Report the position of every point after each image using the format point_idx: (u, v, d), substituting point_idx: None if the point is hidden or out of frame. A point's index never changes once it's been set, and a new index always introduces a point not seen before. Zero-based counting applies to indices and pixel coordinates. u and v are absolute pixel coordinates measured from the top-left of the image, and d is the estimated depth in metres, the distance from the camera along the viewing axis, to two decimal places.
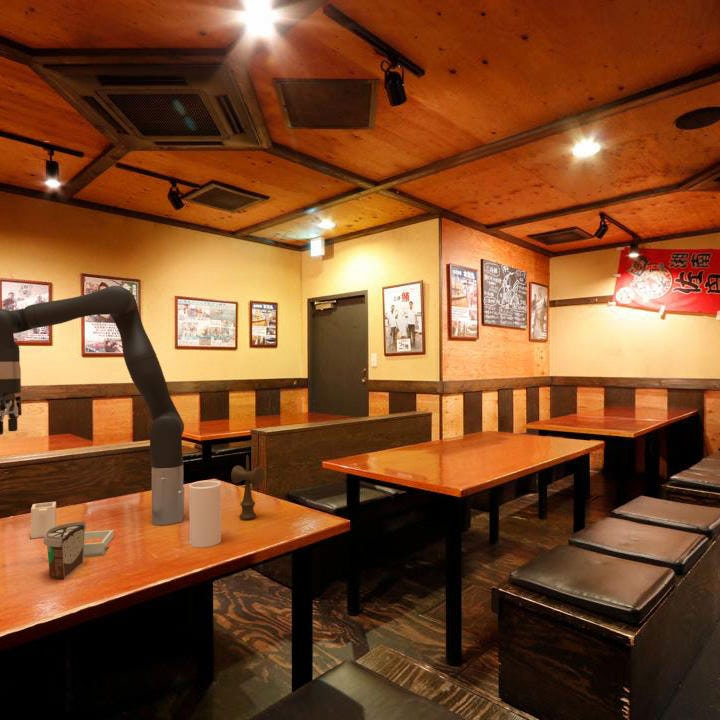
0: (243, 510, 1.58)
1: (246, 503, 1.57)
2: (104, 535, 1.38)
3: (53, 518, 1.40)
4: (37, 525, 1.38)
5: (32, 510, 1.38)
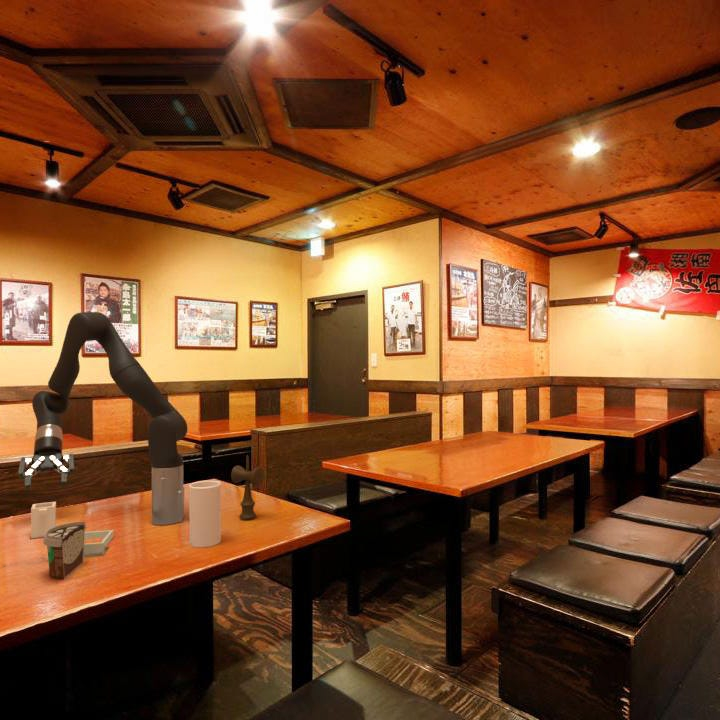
0: (243, 510, 1.58)
1: (246, 503, 1.57)
2: (104, 535, 1.38)
3: (53, 518, 1.40)
4: (37, 525, 1.38)
5: (32, 510, 1.38)
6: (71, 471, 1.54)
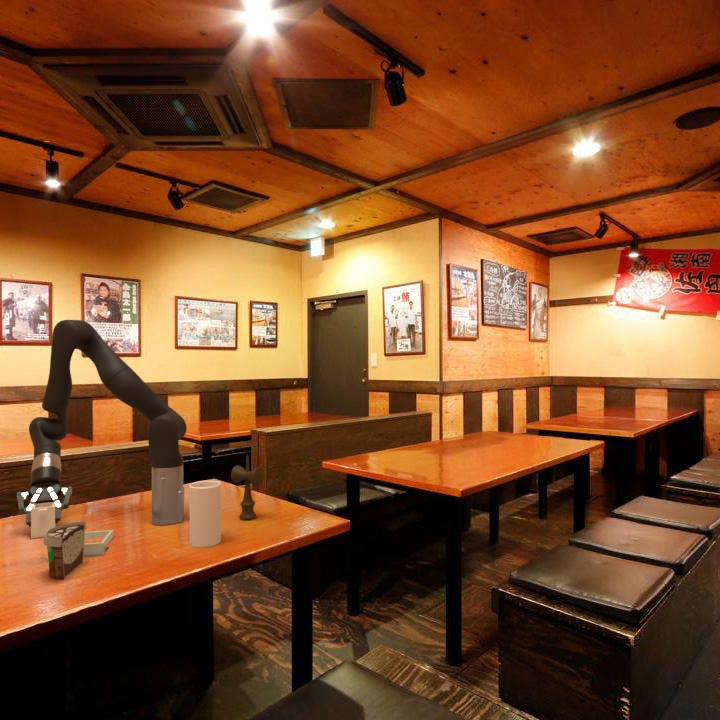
0: (243, 510, 1.58)
1: (246, 503, 1.57)
2: (104, 535, 1.38)
3: (53, 518, 1.40)
4: (37, 525, 1.38)
5: (32, 510, 1.37)
6: (65, 506, 1.45)
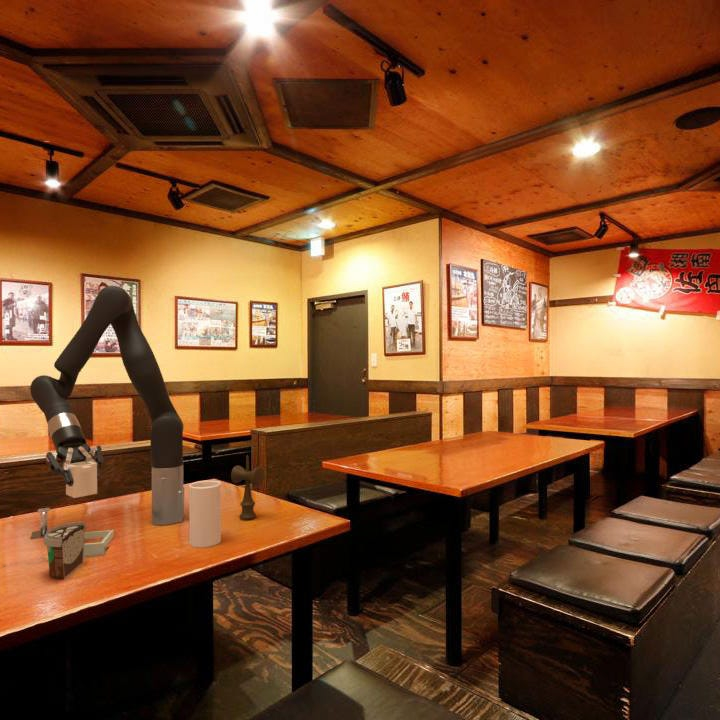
0: (243, 510, 1.58)
1: (246, 503, 1.57)
2: (104, 535, 1.38)
3: (95, 476, 1.33)
4: (80, 483, 1.31)
5: (75, 468, 1.30)
6: (99, 465, 1.38)
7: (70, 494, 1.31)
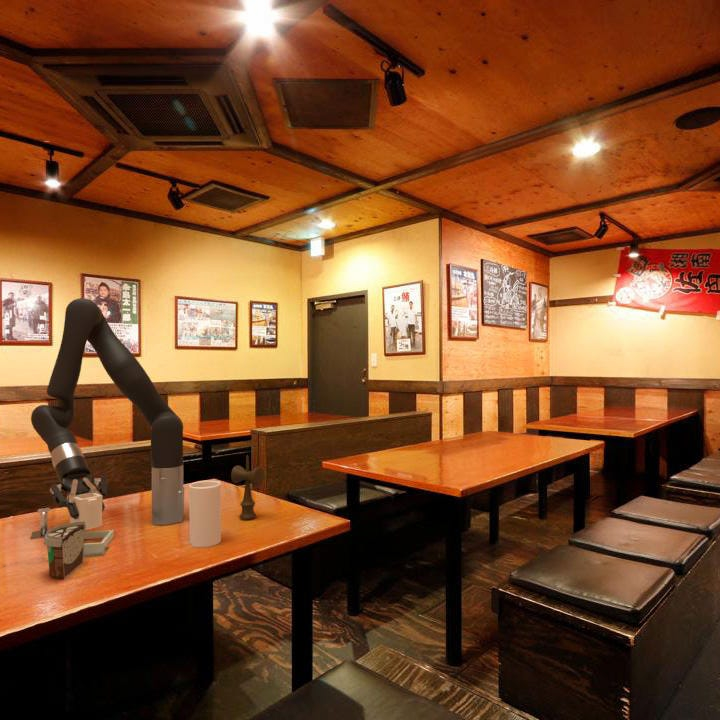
0: (243, 510, 1.58)
1: (246, 503, 1.57)
2: (104, 535, 1.38)
3: (100, 508, 1.33)
4: (85, 516, 1.30)
5: (81, 501, 1.29)
6: (103, 496, 1.38)
7: None
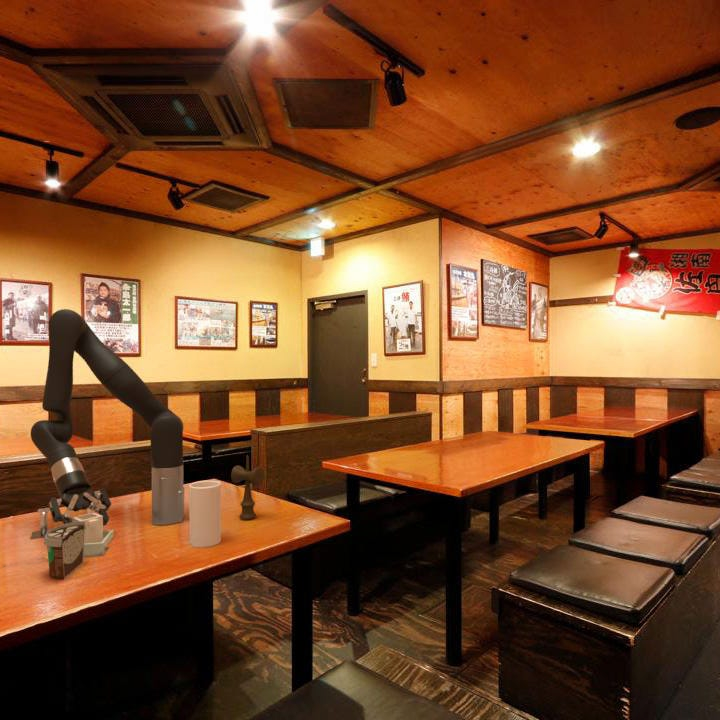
0: (243, 510, 1.58)
1: (246, 503, 1.57)
2: (104, 535, 1.38)
3: (101, 528, 1.33)
4: (86, 537, 1.30)
5: None
6: (108, 508, 1.39)
7: None
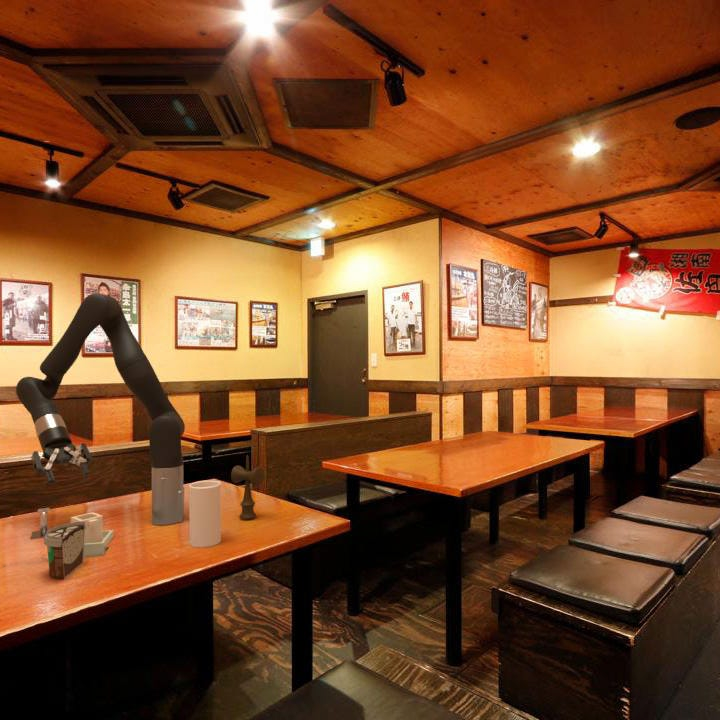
0: (243, 510, 1.58)
1: (246, 503, 1.57)
2: (104, 535, 1.38)
3: (101, 528, 1.33)
4: (86, 537, 1.30)
5: None
6: (89, 461, 1.48)
7: None
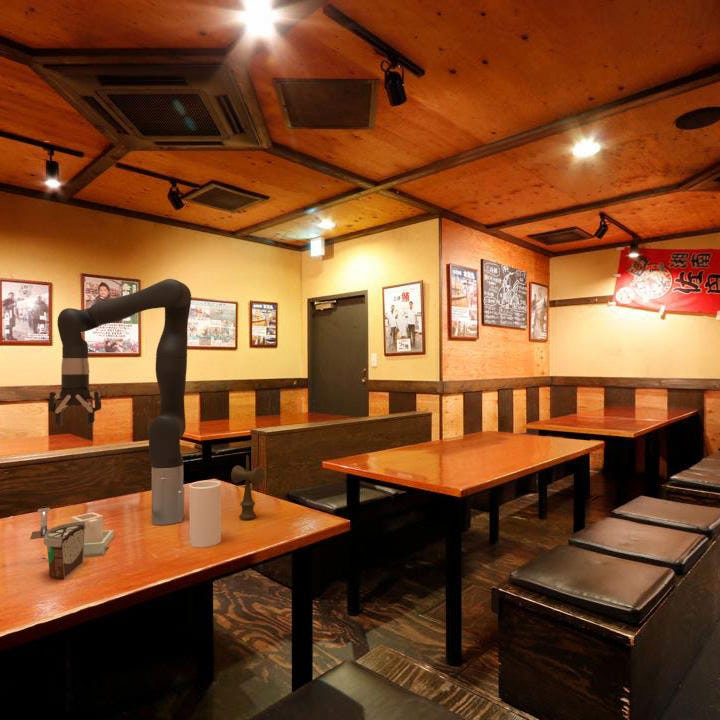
0: (243, 510, 1.58)
1: (246, 503, 1.57)
2: (104, 535, 1.38)
3: (101, 528, 1.33)
4: (86, 537, 1.30)
5: None
6: (97, 410, 1.58)
7: None
